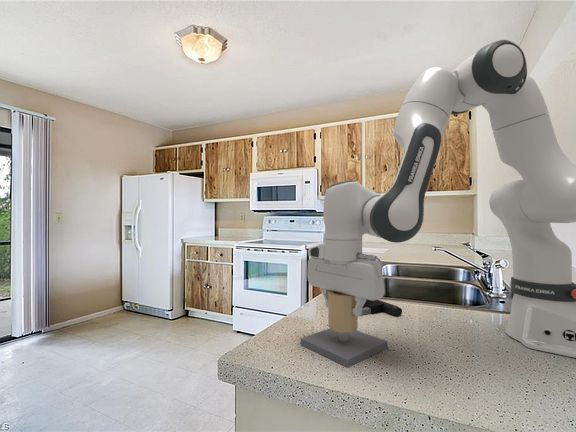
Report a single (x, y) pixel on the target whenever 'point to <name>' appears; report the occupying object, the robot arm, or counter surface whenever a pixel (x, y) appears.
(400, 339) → the counter surface
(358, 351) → the roll holder
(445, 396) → the counter surface
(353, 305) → the paper roll
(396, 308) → the black two-tone tubular device
